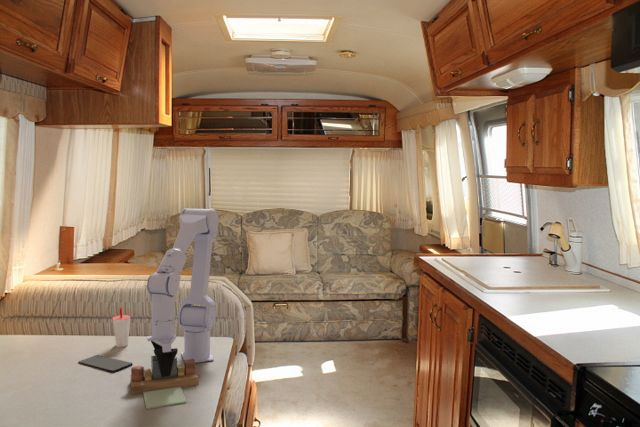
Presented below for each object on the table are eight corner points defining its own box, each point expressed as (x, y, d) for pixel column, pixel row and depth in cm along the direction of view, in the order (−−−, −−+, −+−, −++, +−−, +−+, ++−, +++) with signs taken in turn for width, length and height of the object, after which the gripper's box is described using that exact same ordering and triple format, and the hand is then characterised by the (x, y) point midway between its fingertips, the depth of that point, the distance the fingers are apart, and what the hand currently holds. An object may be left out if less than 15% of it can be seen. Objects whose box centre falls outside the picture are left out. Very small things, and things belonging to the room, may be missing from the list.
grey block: (151, 374, 133) (151, 352, 133) (175, 371, 135) (174, 350, 135) (152, 380, 129) (152, 358, 129) (177, 377, 132) (177, 355, 131)
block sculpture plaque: (130, 382, 133) (130, 363, 133) (193, 373, 139) (193, 355, 139) (132, 394, 126) (132, 374, 125) (198, 384, 132) (198, 365, 132)
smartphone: (97, 354, 152) (133, 362, 145) (98, 357, 152) (133, 366, 145) (77, 361, 146) (113, 371, 139) (77, 364, 146) (113, 374, 139)
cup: (113, 349, 158) (112, 310, 157) (112, 343, 162) (111, 306, 161) (131, 346, 160) (130, 309, 159) (130, 341, 165) (129, 304, 164)
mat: (143, 393, 126) (143, 392, 126) (180, 388, 130) (180, 386, 130) (146, 409, 118) (146, 407, 118) (186, 402, 122) (186, 401, 121)
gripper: (144, 313, 136) (145, 363, 137) (149, 328, 123) (150, 383, 124) (172, 310, 139) (172, 359, 140) (179, 325, 126) (180, 379, 127)
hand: (164, 370), depth 132 cm, fingers open, 7 cm apart
